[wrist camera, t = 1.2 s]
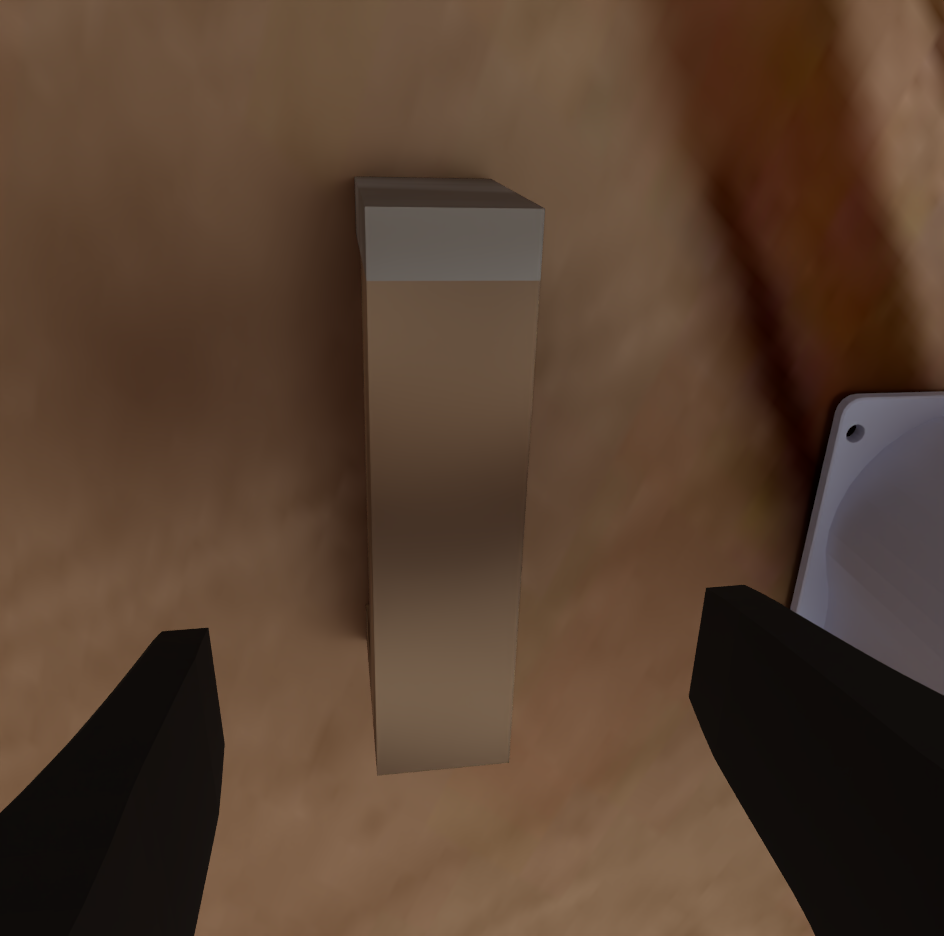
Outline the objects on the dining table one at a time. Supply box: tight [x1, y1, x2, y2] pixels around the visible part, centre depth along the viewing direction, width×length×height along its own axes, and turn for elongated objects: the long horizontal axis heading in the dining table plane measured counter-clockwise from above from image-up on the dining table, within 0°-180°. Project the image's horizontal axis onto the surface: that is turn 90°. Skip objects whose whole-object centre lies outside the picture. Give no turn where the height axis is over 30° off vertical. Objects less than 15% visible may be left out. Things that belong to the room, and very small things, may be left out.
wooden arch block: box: [355, 177, 545, 776], centre depth 18 cm, size 12×3×5 cm, turn 178°
